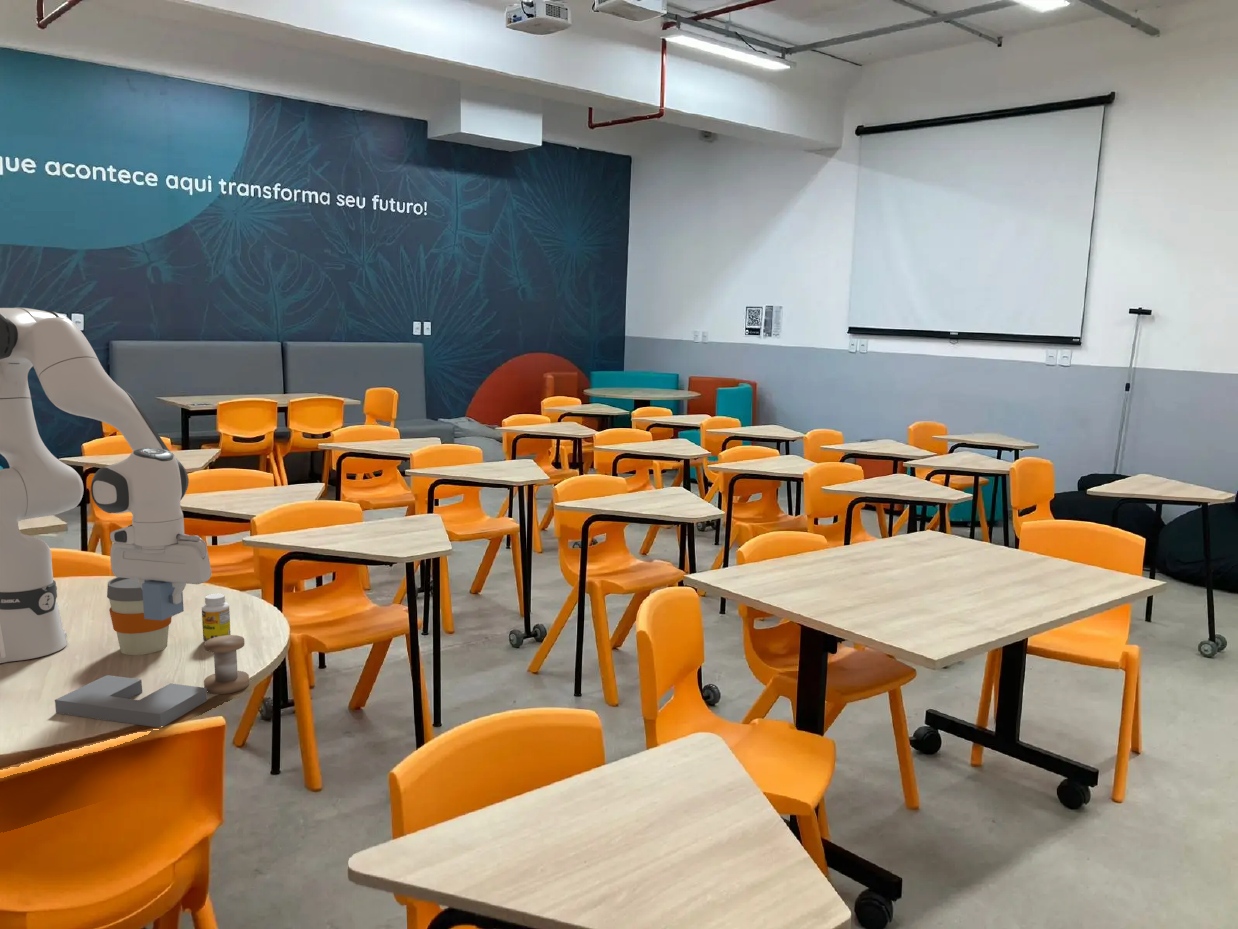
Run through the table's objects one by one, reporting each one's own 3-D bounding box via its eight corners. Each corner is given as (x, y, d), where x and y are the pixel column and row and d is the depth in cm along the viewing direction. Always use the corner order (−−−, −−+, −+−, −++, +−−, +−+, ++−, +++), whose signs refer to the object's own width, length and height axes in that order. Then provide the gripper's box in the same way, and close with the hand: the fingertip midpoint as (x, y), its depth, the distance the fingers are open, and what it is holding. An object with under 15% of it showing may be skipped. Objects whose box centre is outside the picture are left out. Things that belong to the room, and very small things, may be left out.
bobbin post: (195, 691, 175) (192, 646, 173) (222, 676, 182) (220, 632, 181) (231, 696, 173) (229, 650, 171) (257, 680, 181) (255, 636, 179)
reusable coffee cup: (149, 660, 190) (145, 590, 187) (96, 655, 192) (91, 586, 190) (189, 640, 202) (185, 574, 199) (139, 635, 204) (134, 570, 202)
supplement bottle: (197, 642, 201) (195, 597, 199) (219, 634, 206) (217, 590, 204) (214, 647, 198) (212, 601, 197) (236, 639, 203) (234, 594, 201)
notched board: (56, 713, 164) (54, 699, 164) (107, 687, 176) (106, 675, 175) (161, 728, 159) (160, 714, 159) (207, 700, 171) (206, 688, 170)
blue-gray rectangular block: (144, 618, 177) (141, 583, 176) (166, 609, 183) (164, 575, 182) (161, 620, 176) (159, 585, 175) (183, 611, 182) (181, 577, 181)
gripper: (216, 532, 177) (220, 601, 180) (127, 526, 182) (132, 593, 184) (194, 540, 171) (198, 611, 174) (102, 532, 176) (107, 602, 178)
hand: (163, 602), depth 179 cm, fingers closed on blue-gray rectangular block, 4 cm apart
